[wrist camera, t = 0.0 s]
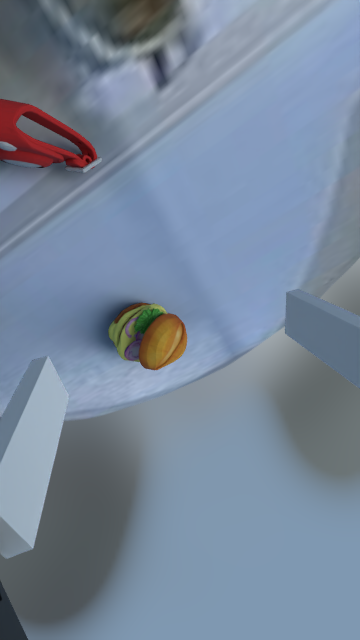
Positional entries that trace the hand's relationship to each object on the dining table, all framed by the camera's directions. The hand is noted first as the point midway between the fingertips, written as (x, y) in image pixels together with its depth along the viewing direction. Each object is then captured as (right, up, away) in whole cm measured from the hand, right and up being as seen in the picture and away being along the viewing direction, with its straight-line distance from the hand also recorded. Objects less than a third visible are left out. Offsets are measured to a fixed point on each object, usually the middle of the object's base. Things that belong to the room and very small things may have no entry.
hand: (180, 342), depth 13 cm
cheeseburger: (-8, +1, +28) cm, 29 cm away
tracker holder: (-16, +22, +16) cm, 31 cm away
